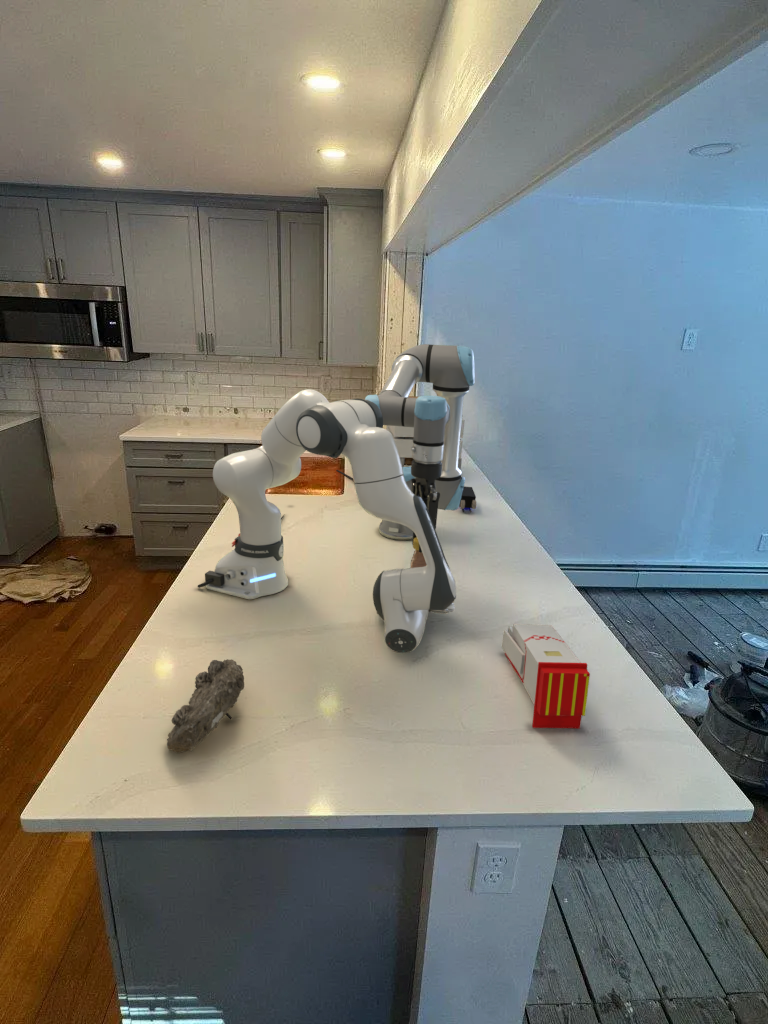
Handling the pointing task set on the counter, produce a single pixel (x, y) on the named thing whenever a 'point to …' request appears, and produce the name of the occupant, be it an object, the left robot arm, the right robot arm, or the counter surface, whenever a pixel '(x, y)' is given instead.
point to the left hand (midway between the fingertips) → (418, 582)
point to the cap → (416, 544)
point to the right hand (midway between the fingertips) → (420, 547)
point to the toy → (548, 674)
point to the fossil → (206, 705)
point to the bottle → (418, 560)
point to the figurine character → (468, 499)
